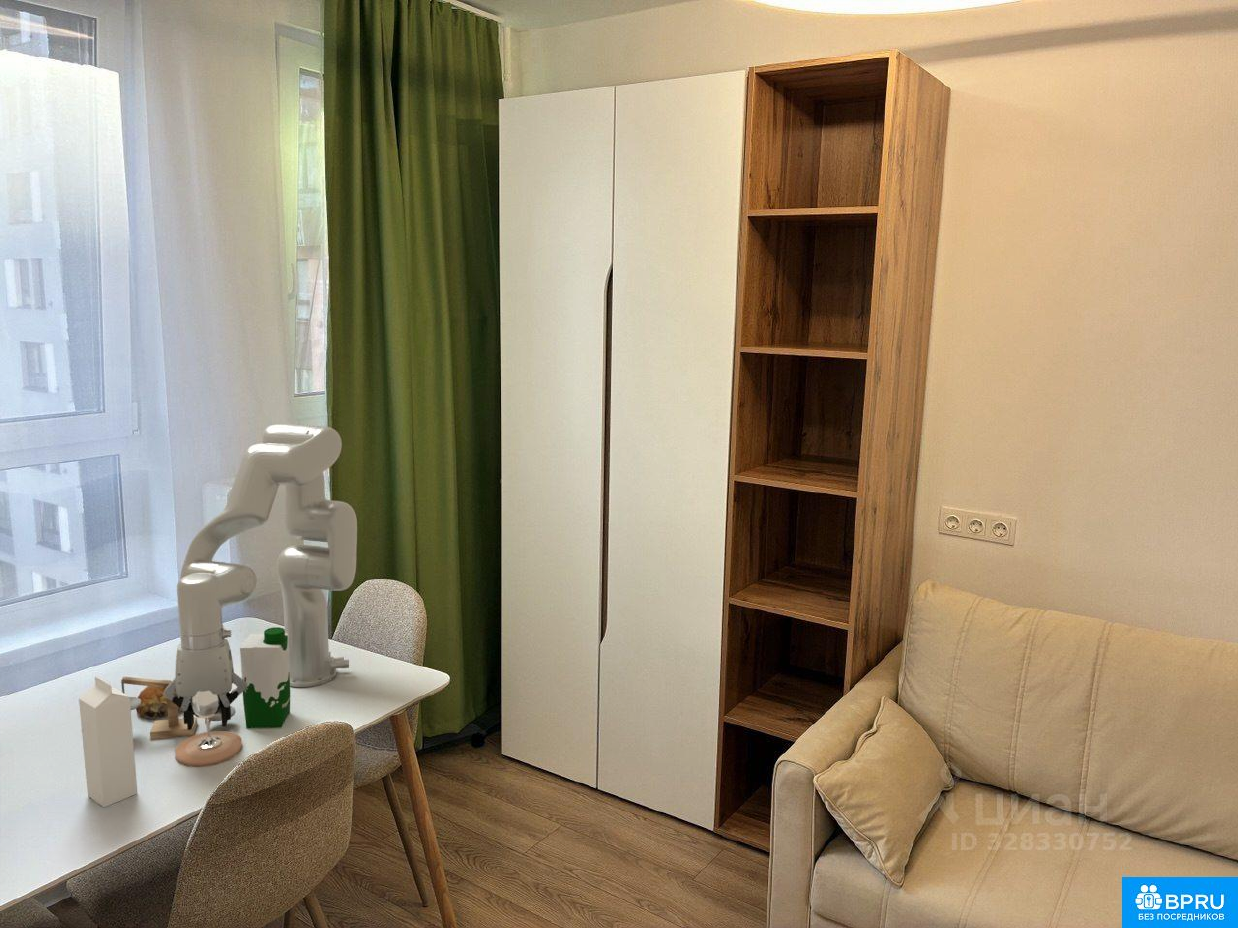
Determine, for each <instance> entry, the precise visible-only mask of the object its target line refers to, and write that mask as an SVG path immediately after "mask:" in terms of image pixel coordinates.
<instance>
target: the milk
mask: <svg viewBox="0 0 1238 928" xmlns="http://www.w3.org/2000/svg"><path fill="white" fill-rule="evenodd" d="M124 693H125V692H124ZM124 693H122V691H120V690H119V689H117V688H115V687H113V686H112V685H111V684H110V683H108V682H106V681H105V680H104V679H101V678H100V677H98V676H95V677H94V685H92V686H91V687H90V688H89V689H88V690H87V691H86V692H85V693H83V694H82V695H81V696H80V697H78V702H79V714H80V722H81V724H80V725H81V735H82V745H83V755H84V768H85V778H86V787H87V788H86V789H87V796H88V798H90V799H92V800H93V801H94V802H95V803H97V804H98V805H100V806H101V807H102V808H107V807H109V806H111V805H114V804H115V803H118V802H120V801H123V800H125V799H127V798H130V797H133V796H134V795H137V794H138V785H137V783H138V782H137V772H136V769H137V768H136V758H135V745H134V736H133V735H134V734H133V733H134V732H133V721H132V710H131V708H130V697H131V696H129V695H128V694H124Z"/></svg>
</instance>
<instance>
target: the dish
mask: <svg viewBox="0 0 1238 928" xmlns="http://www.w3.org/2000/svg"><path fill="white" fill-rule="evenodd" d="M210 736H211V737H218V738H220V739H221V740H222V742H221V743H220V744H219V745H218V746H216V747H213V748H208V749H202V748H199V747H198V746H197V743H198V742H199V741H200V740H202V739H205V738H207V731H204V732H201V733H197V734H194V735H190V736H189V737H187V738H185V739H183V740H182V741H181V742H179V743H178V744H177V746H176V747H175V750H174V752H175V753H174V755H175V760H176V761H177V762H178V763H179V764H180V765H183V766H186V767H194V768H195V767H200V768H201V767H209V766H215V765H218V764H221V763H224V762H227V761H230V760H231V759H233V758H234V757H235V756H237V755H238V754H239V753H240V752H241V751H242V748H243V741H242V737H241V736H240V735H239V734H238V733H235V732H232V731H228V730H211V731H210Z"/></svg>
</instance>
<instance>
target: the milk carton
mask: <svg viewBox="0 0 1238 928" xmlns="http://www.w3.org/2000/svg"><path fill="white" fill-rule="evenodd" d="M239 652H240V653H239V654H240V669H241V679H243V680H244V681H245V682H246V683H247V684H248V685H247V688H246V689H245V690H244V691H243V692H242V701H243V702H242V703H243V711H244V719H245V726H246V727H245V728H246V729H282V728H283V726H284V724H285V722H286V720H287V718H288V717H289V715H290V713H291V686H290V672H289V634H285V628H284V627H276V626H274V627H270V628H267V629H265V630H264V633H250V635H249V636H248V637H247V638H246V640H245V641H244V642H243V643H242V644H241V646H240V647H239Z"/></svg>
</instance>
